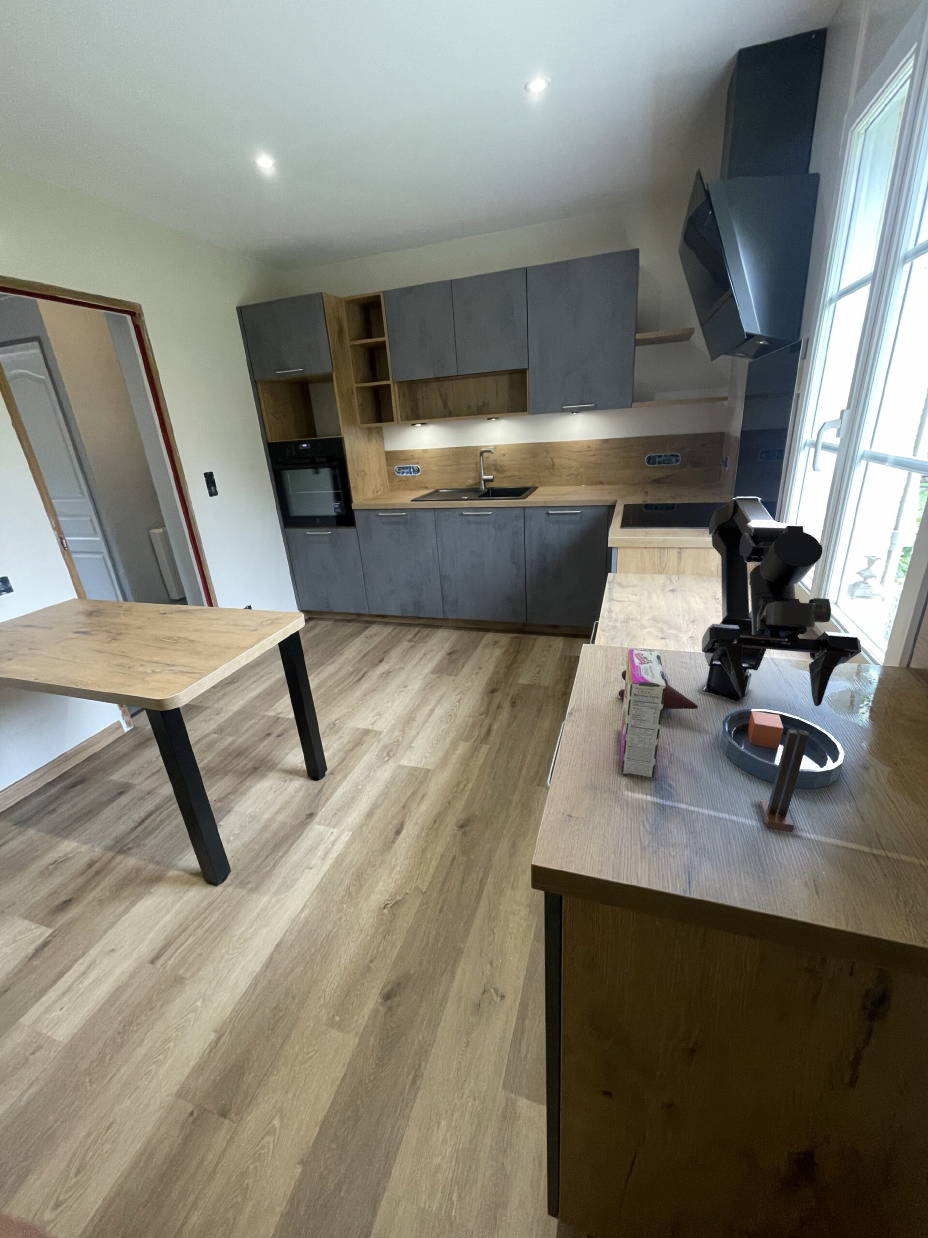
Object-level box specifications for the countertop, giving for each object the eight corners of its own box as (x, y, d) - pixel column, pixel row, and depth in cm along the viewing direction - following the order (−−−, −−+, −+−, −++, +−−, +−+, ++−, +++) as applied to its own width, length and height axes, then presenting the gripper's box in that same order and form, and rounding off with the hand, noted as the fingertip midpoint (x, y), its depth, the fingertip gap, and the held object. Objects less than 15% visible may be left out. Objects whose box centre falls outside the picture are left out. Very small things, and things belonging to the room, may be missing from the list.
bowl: (705, 759, 77) (708, 741, 76) (734, 715, 88) (738, 698, 87) (829, 808, 67) (835, 788, 65) (844, 751, 78) (850, 733, 76)
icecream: (709, 685, 86) (632, 664, 97) (691, 690, 81) (612, 667, 92) (703, 722, 87) (627, 697, 98) (684, 729, 82) (607, 702, 93)
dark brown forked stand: (758, 806, 67) (779, 721, 62) (783, 810, 67) (806, 724, 61) (766, 828, 64) (789, 739, 59) (792, 832, 63) (818, 743, 58)
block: (750, 744, 79) (754, 723, 78) (747, 730, 83) (751, 710, 81) (778, 749, 78) (783, 728, 76) (774, 735, 81) (779, 715, 80)
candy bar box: (618, 733, 84) (627, 647, 78) (649, 737, 83) (660, 650, 77) (619, 775, 74) (630, 681, 68) (654, 780, 73) (668, 685, 67)
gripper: (717, 571, 68) (720, 677, 62) (875, 578, 63) (893, 694, 57) (700, 604, 78) (701, 698, 72) (835, 612, 73) (847, 714, 67)
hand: (779, 701), depth 67 cm, fingers open, 9 cm apart
